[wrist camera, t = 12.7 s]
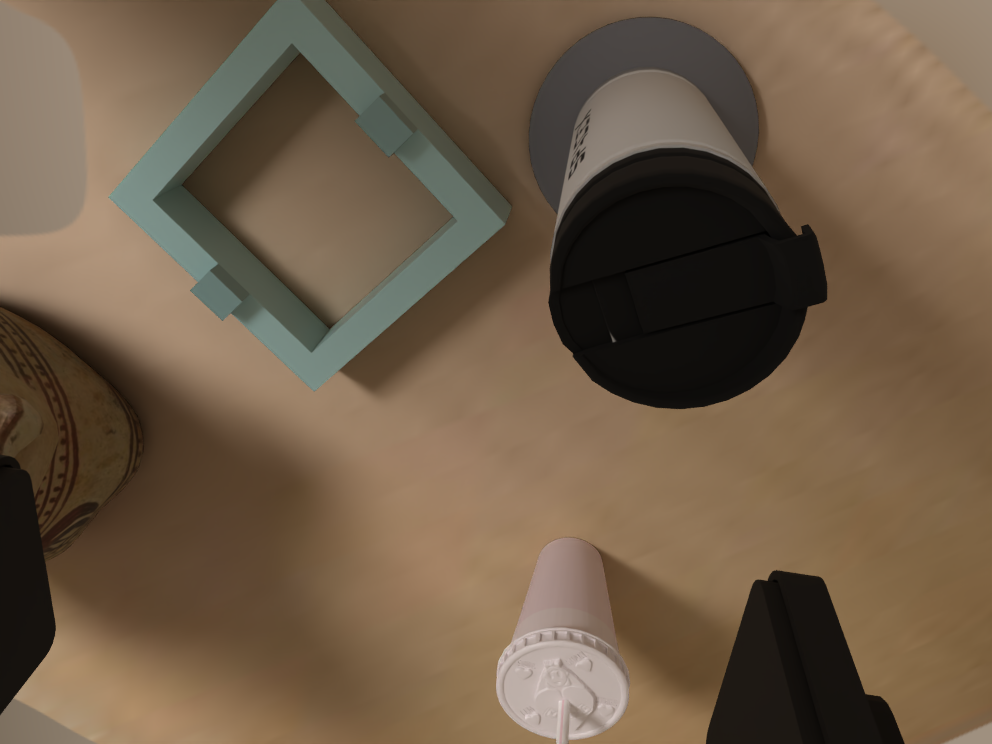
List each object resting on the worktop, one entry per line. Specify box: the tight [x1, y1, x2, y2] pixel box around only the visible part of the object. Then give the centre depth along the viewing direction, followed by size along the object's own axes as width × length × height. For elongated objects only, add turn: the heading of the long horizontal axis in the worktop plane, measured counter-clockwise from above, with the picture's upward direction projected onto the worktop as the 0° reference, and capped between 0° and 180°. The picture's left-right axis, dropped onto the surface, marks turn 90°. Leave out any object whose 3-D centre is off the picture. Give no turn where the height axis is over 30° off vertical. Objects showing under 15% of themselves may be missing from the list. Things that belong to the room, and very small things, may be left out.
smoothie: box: [496, 538, 630, 744], centre depth 43 cm, size 6×6×14 cm
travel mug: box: [548, 67, 827, 409], centre depth 29 cm, size 6×7×20 cm
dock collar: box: [109, 0, 512, 391], centre depth 40 cm, size 13×13×4 cm
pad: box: [529, 17, 759, 214], centre depth 38 cm, size 10×10×1 cm
